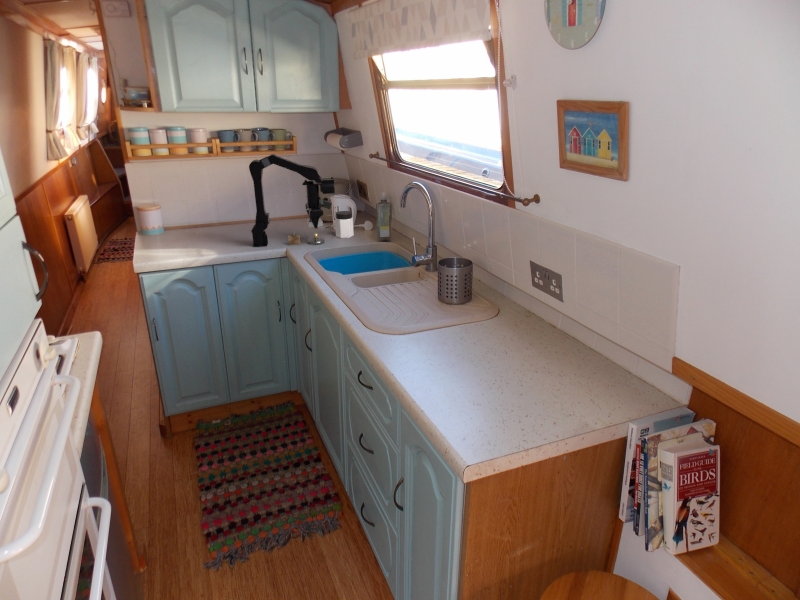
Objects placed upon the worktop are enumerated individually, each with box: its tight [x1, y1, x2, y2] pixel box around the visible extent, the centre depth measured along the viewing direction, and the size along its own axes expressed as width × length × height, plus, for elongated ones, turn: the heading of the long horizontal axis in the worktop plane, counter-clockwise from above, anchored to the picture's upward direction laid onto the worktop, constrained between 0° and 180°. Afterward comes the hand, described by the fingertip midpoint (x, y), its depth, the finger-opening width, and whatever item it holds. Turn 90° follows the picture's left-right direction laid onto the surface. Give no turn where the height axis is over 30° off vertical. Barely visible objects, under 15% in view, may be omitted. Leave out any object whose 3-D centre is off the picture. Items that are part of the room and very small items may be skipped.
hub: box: [307, 232, 326, 246], centre depth 273 cm, size 8×8×5 cm
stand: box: [287, 232, 301, 246], centre depth 271 cm, size 6×2×6 cm, turn 106°
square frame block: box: [306, 217, 324, 228], centre depth 271 cm, size 7×7×2 cm
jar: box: [334, 210, 354, 239], centre depth 283 cm, size 9×8×12 cm
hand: (315, 226), depth 271 cm, fingers closed on square frame block, 7 cm apart
